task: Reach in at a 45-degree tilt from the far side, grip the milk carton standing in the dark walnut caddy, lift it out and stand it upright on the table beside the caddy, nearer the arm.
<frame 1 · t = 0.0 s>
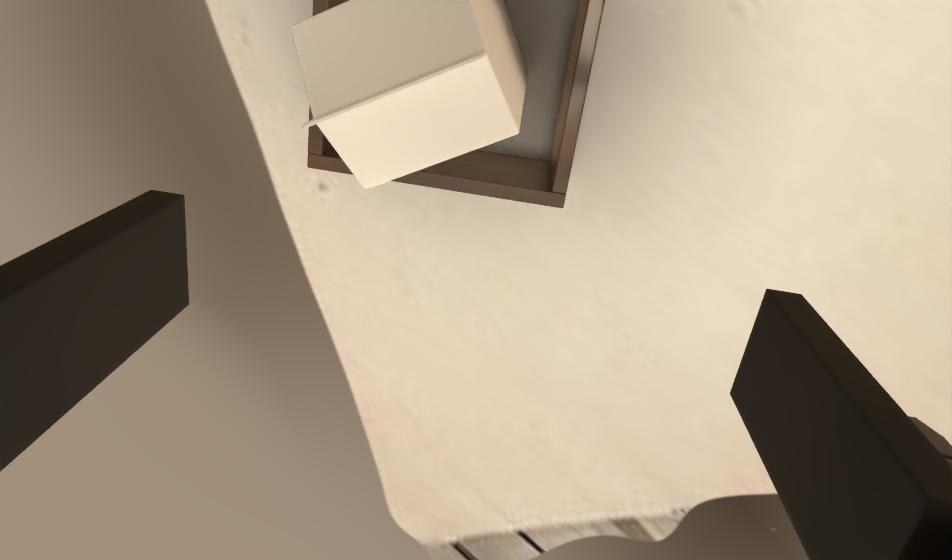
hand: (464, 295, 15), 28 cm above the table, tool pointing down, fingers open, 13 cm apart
milk: (465, 42, 40), resting in caddy
caddy: (464, 42, 39), on the table
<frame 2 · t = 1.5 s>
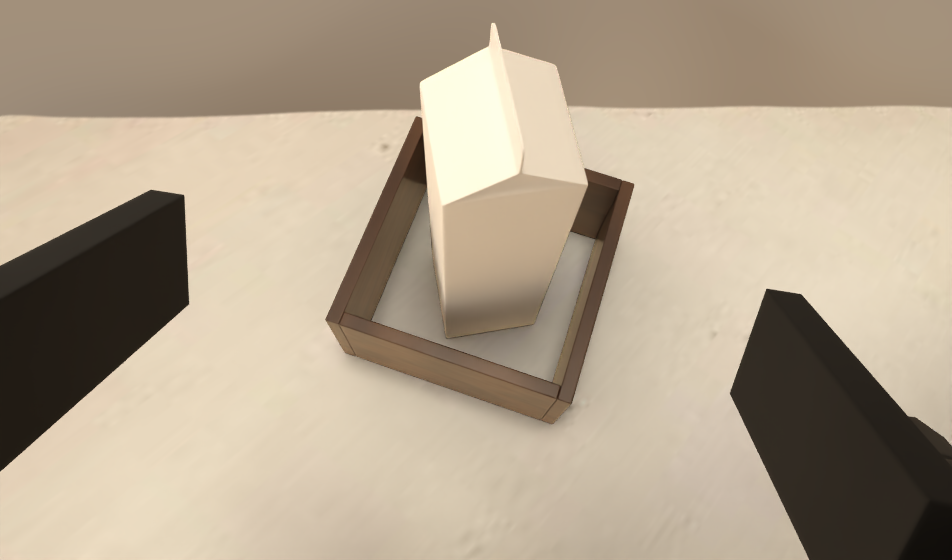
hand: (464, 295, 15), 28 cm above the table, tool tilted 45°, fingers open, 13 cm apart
milk: (482, 291, 45), resting in caddy
caddy: (482, 290, 45), on the table
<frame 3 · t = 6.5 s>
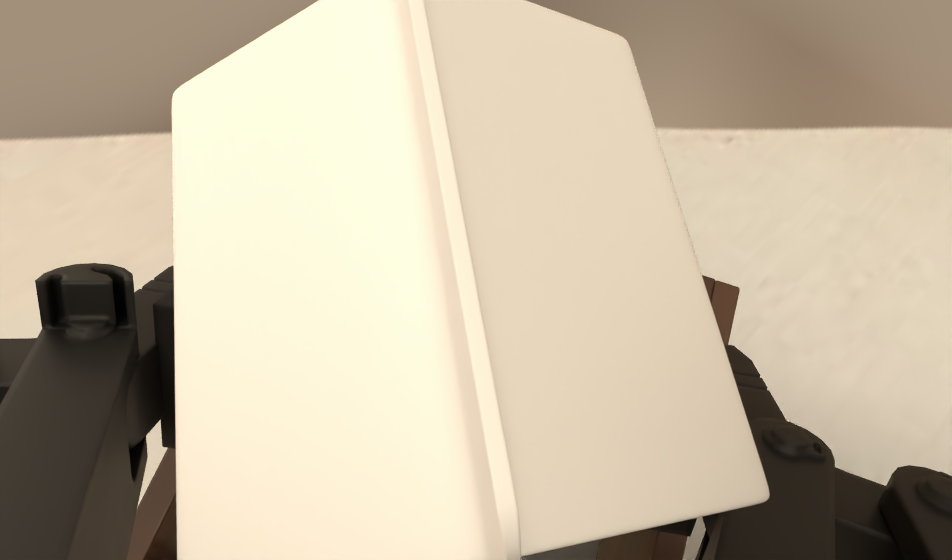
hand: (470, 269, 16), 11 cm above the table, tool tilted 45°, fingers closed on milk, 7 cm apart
milk: (449, 457, 25), resting in caddy, touching gripper
caddy: (448, 456, 25), on the table
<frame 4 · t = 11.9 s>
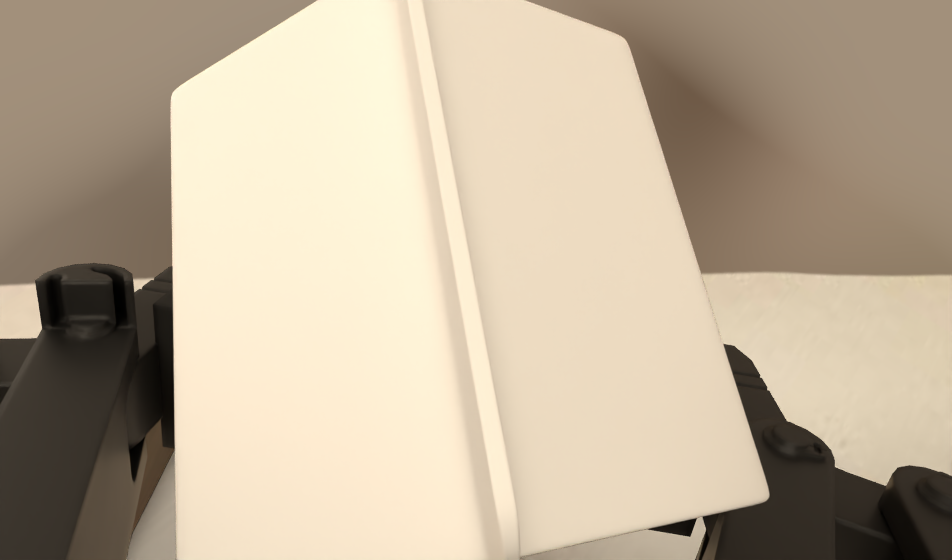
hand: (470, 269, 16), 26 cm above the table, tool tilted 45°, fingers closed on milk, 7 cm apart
milk: (448, 457, 25), point 15 cm above the table, touching gripper
caddy: (260, 508, 39), on the table
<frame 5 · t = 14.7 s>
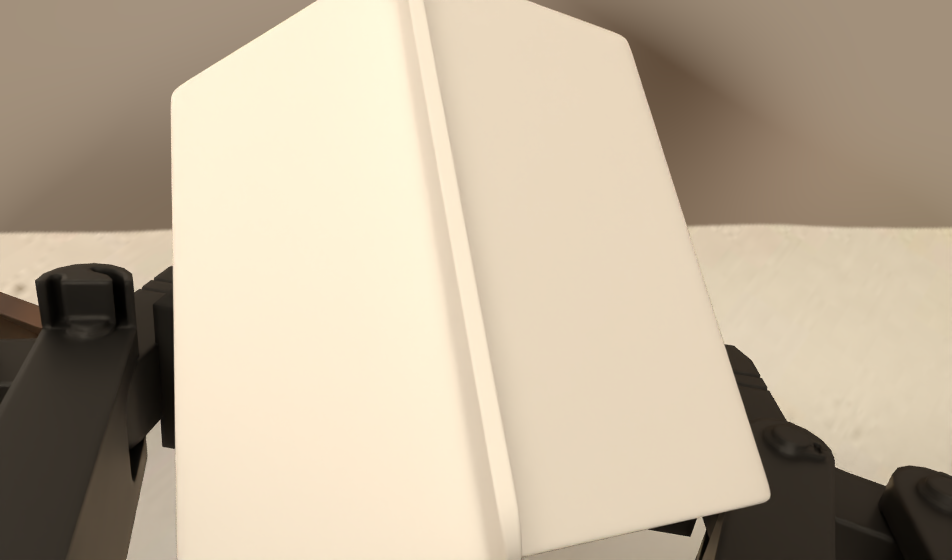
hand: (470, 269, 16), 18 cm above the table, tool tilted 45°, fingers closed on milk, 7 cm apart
milk: (449, 457, 25), point 7 cm above the table, touching gripper
caddy: (114, 516, 31), on the table
when the fingers open (11 cm above the table, at t = 17.1 s): milk stays where it is, on the table.
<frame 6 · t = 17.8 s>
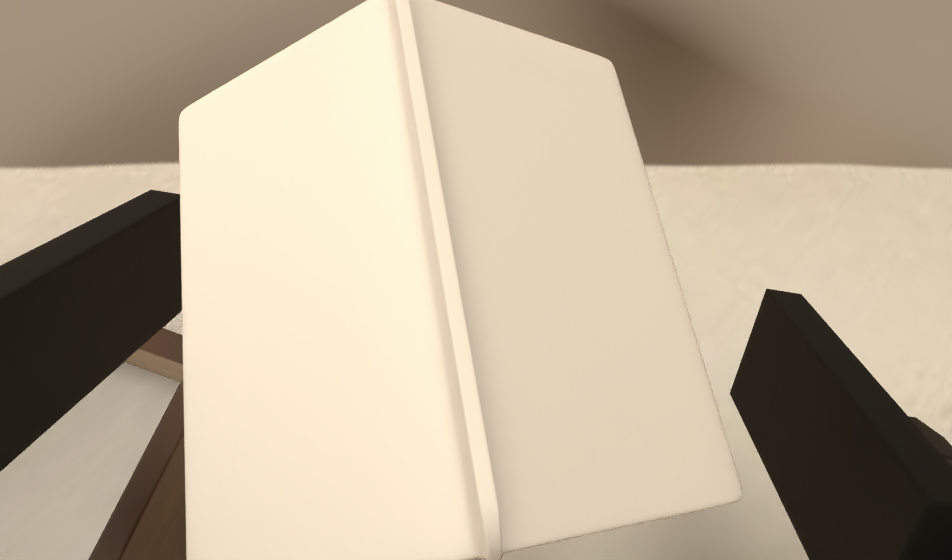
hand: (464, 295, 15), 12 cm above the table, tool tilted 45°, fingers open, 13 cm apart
milk: (445, 458, 26), on the table
caddy: (21, 513, 24), on the table
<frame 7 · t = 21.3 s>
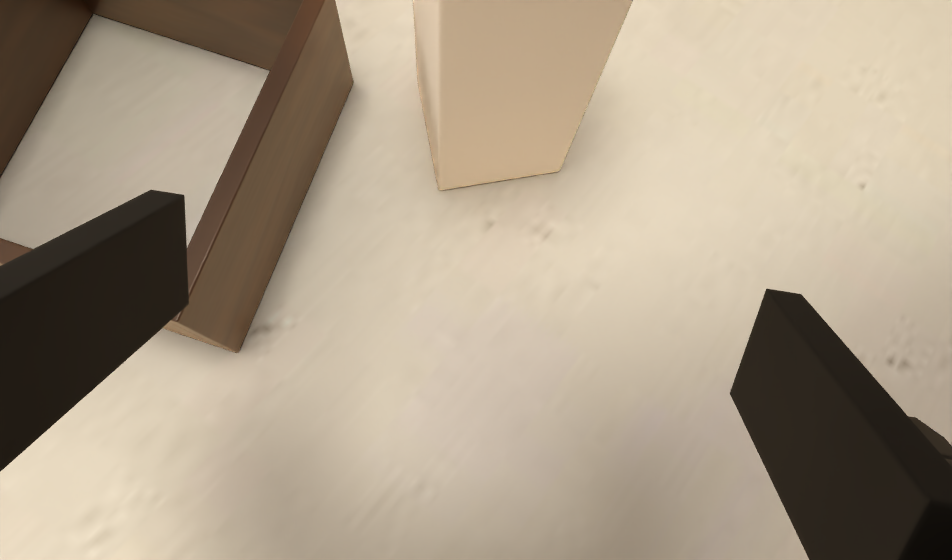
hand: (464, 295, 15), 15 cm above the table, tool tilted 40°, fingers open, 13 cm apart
milk: (487, 127, 32), on the table
caddy: (156, 162, 31), on the table
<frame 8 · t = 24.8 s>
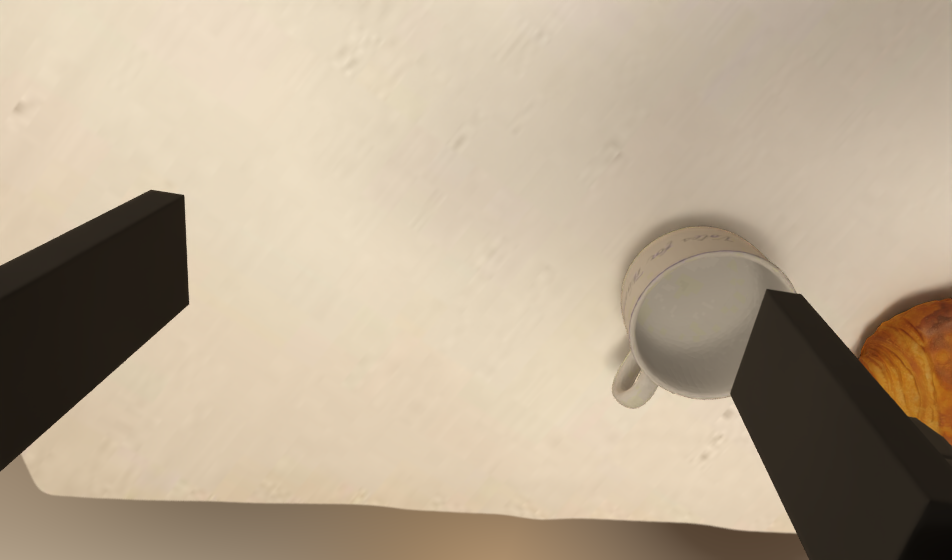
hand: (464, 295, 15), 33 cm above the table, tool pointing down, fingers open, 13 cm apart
teacup: (670, 293, 50), on the table
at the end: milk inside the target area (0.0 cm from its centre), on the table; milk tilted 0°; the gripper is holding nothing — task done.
